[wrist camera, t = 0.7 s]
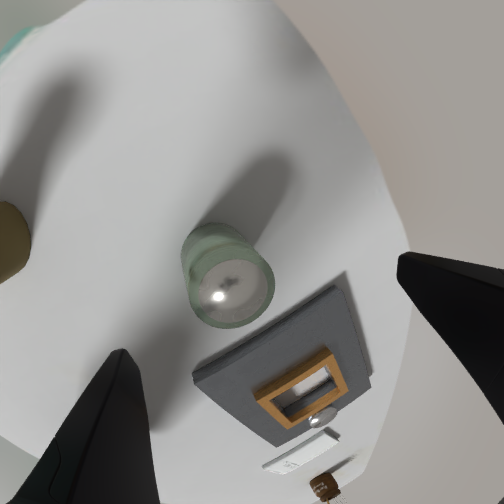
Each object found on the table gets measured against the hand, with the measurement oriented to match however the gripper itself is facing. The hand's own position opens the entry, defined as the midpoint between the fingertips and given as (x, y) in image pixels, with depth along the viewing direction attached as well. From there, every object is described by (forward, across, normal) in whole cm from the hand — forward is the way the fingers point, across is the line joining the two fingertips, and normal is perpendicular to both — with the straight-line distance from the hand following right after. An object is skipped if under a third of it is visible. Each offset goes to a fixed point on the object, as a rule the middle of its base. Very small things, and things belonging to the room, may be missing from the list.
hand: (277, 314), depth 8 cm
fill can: (+13, +1, +4) cm, 14 cm away
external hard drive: (+12, -3, +44) cm, 46 cm away
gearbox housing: (+12, -4, +22) cm, 26 cm away
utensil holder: (+10, -6, +68) cm, 69 cm away
